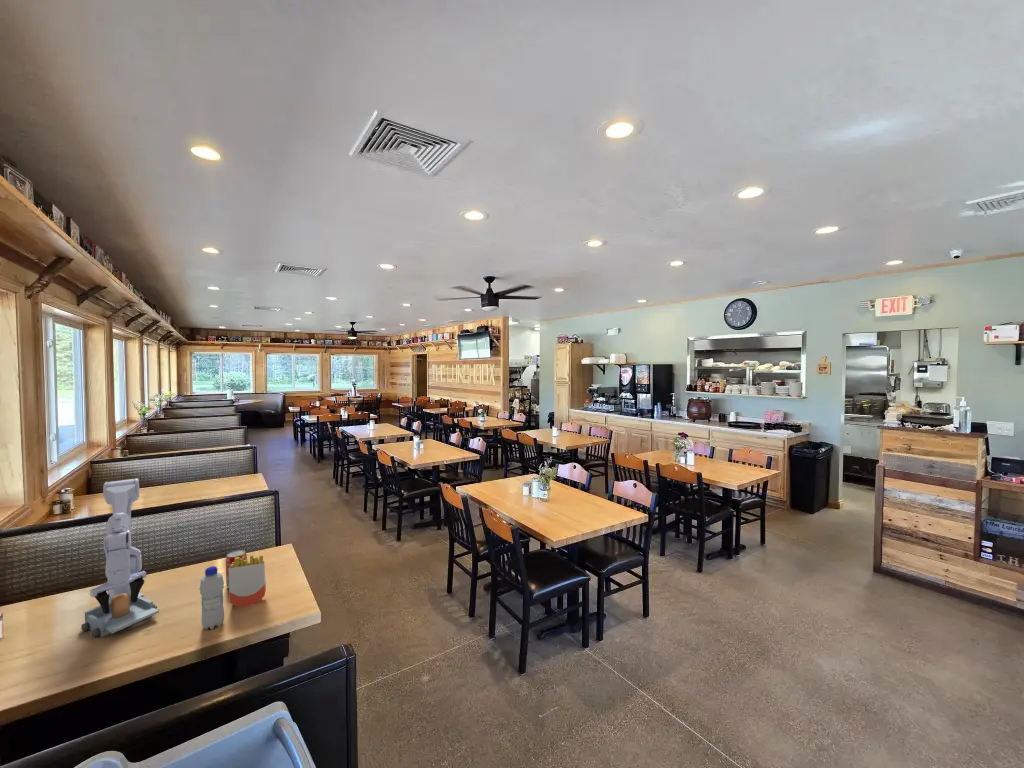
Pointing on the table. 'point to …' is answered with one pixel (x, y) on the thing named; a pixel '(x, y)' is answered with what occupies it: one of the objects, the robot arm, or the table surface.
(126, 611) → the tan hollow cylinder
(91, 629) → the box
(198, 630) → the table surface
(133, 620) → the panel
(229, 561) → the soda can
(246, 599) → the french fries container
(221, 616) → the bottle
